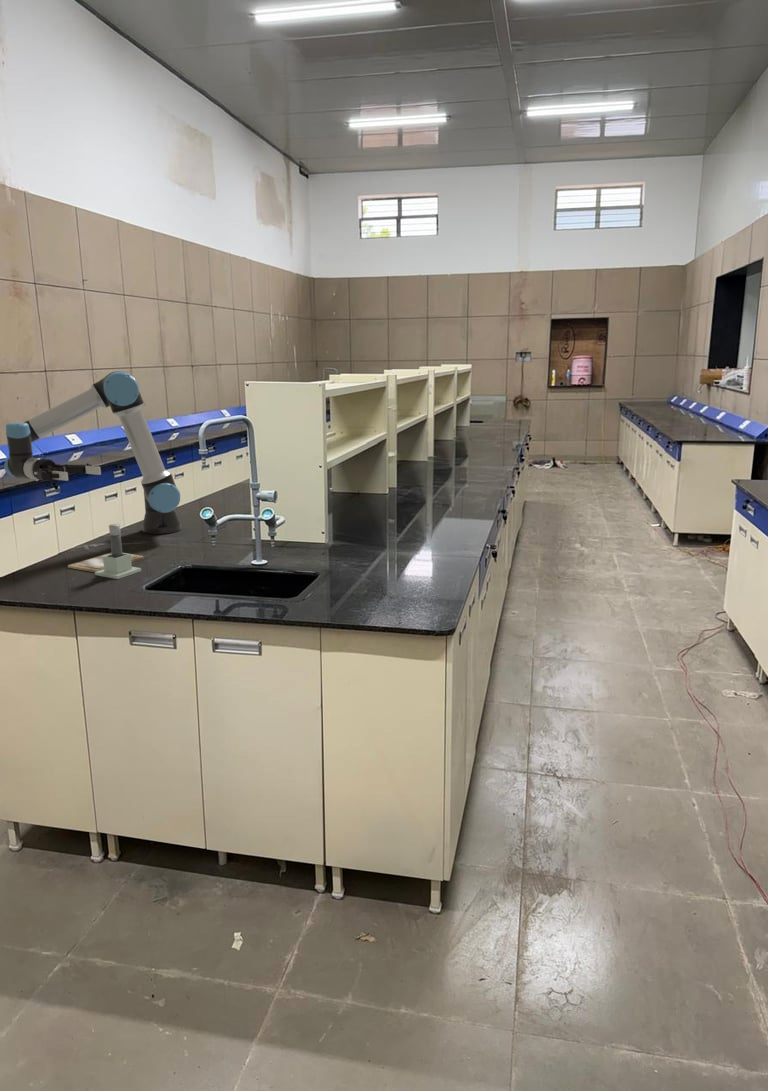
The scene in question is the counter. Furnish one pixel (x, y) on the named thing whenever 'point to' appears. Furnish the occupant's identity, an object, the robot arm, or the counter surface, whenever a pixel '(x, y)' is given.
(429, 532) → the counter surface
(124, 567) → the square socket holder
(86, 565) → the clipboard
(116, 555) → the marker
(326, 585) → the counter surface
